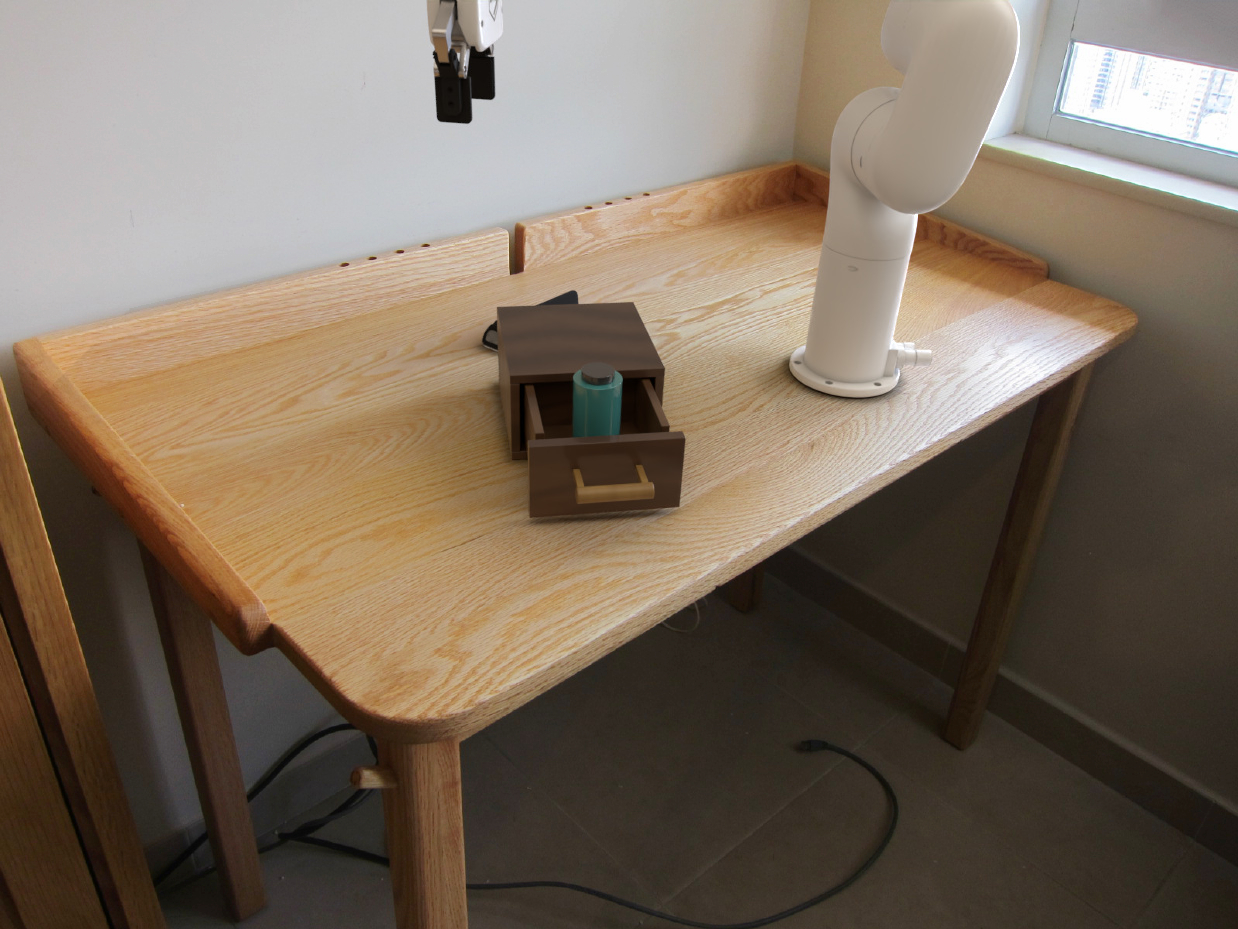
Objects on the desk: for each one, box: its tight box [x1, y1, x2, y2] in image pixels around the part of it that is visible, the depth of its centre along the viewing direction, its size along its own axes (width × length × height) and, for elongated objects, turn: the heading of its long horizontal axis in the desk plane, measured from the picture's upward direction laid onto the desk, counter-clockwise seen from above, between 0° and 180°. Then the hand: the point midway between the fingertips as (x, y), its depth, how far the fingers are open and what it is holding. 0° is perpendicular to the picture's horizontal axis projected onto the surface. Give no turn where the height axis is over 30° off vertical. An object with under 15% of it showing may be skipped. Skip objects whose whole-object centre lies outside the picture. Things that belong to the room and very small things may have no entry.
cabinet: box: [496, 301, 666, 460], centre depth 101 cm, size 16×15×9 cm
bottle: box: [572, 362, 623, 438], centre depth 89 cm, size 4×4×10 cm
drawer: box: [522, 377, 687, 519], centre depth 90 cm, size 19×14×7 cm
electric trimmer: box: [481, 289, 579, 353], centre depth 121 cm, size 4×16×3 cm, turn 143°
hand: (467, 109), depth 94 cm, fingers open, 9 cm apart
